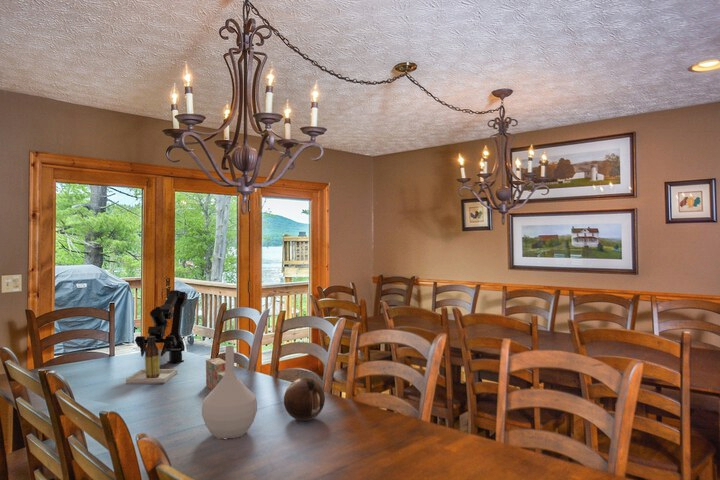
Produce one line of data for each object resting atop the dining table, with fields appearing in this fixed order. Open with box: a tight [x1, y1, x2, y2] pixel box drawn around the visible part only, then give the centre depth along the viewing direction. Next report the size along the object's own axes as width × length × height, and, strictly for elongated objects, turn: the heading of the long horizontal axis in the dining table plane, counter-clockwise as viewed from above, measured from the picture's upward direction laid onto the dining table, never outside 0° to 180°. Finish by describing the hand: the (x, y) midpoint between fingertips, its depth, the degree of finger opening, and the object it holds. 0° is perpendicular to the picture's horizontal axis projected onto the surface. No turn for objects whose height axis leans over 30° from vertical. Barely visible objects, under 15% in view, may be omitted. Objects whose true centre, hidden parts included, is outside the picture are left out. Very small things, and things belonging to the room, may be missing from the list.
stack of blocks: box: [205, 357, 237, 391], centre depth 221 cm, size 21×6×12 cm, turn 35°
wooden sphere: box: [283, 377, 326, 422], centre depth 182 cm, size 15×15×15 cm
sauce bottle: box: [144, 335, 161, 378], centre depth 241 cm, size 6×6×20 cm
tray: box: [125, 368, 178, 385], centre depth 240 cm, size 18×18×2 cm
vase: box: [201, 345, 258, 440], centre depth 169 cm, size 18×18×30 cm
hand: (151, 356), depth 239 cm, fingers open, 9 cm apart
